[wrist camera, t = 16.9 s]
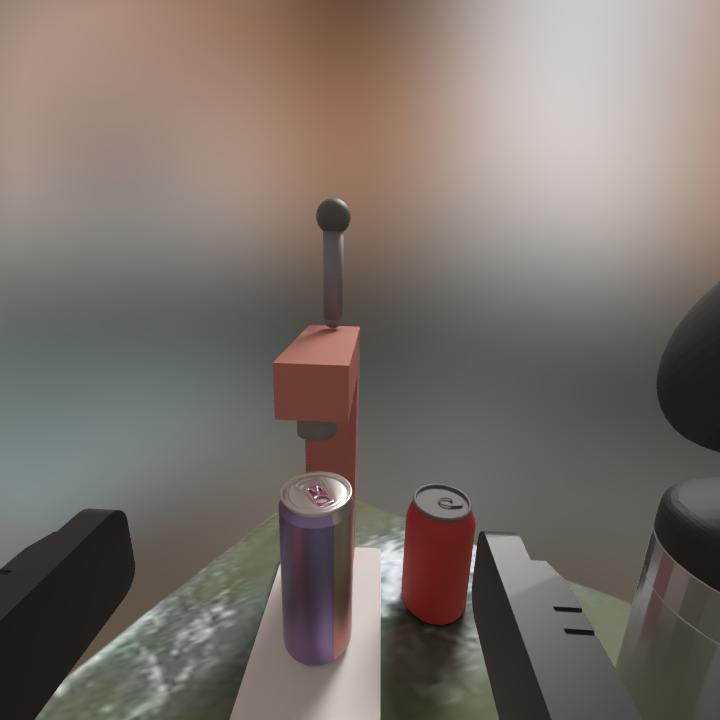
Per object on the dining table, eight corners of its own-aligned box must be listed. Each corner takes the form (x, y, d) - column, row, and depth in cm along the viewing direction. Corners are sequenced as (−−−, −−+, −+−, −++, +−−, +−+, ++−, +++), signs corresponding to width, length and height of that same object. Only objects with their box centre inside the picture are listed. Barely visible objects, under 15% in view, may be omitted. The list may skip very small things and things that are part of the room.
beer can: (467, 635, 36) (481, 528, 33) (397, 621, 38) (404, 516, 34) (463, 579, 43) (475, 484, 39) (404, 569, 44) (410, 476, 41)
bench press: (380, 559, 45) (396, 201, 35) (379, 750, 28) (412, 151, 17) (287, 553, 46) (275, 199, 35) (229, 738, 28) (173, 148, 18)
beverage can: (298, 686, 30) (294, 525, 26) (274, 624, 35) (268, 480, 31) (363, 650, 33) (368, 499, 29) (333, 598, 38) (334, 463, 34)
